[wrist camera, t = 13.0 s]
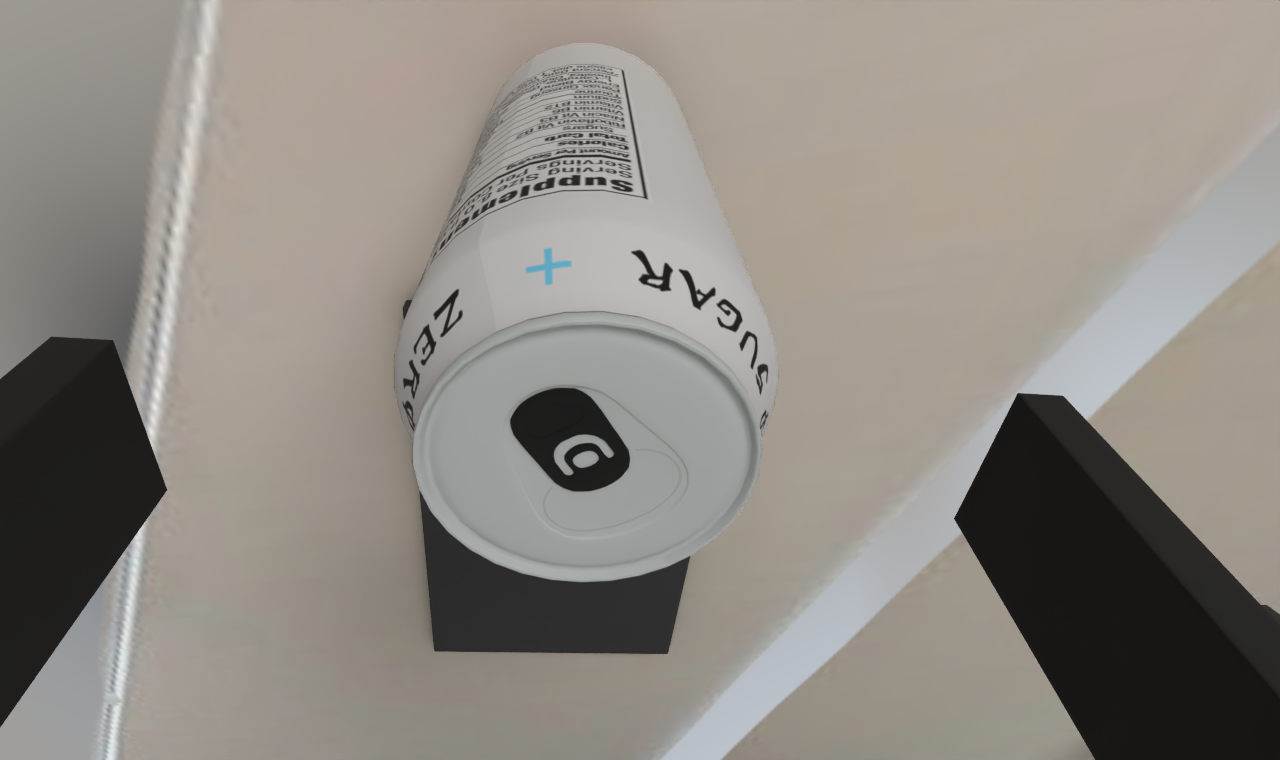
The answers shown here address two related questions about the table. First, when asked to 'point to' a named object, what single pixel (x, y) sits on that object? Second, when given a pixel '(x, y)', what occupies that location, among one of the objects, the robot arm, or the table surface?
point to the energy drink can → (586, 334)
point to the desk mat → (542, 604)
